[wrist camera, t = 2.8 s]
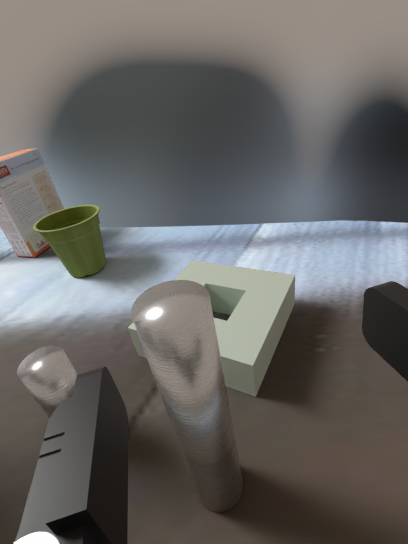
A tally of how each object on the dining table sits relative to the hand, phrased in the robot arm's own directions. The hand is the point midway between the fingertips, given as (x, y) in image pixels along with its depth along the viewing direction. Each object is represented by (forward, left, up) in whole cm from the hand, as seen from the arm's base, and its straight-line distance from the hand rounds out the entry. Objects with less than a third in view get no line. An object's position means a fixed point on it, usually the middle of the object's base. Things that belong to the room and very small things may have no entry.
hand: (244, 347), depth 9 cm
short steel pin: (+2, +21, -22) cm, 31 cm away
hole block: (+20, +13, -22) cm, 33 cm away
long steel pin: (+3, +5, -22) cm, 23 cm away
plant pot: (+27, +46, -23) cm, 58 cm away
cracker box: (+33, +67, -23) cm, 79 cm away
